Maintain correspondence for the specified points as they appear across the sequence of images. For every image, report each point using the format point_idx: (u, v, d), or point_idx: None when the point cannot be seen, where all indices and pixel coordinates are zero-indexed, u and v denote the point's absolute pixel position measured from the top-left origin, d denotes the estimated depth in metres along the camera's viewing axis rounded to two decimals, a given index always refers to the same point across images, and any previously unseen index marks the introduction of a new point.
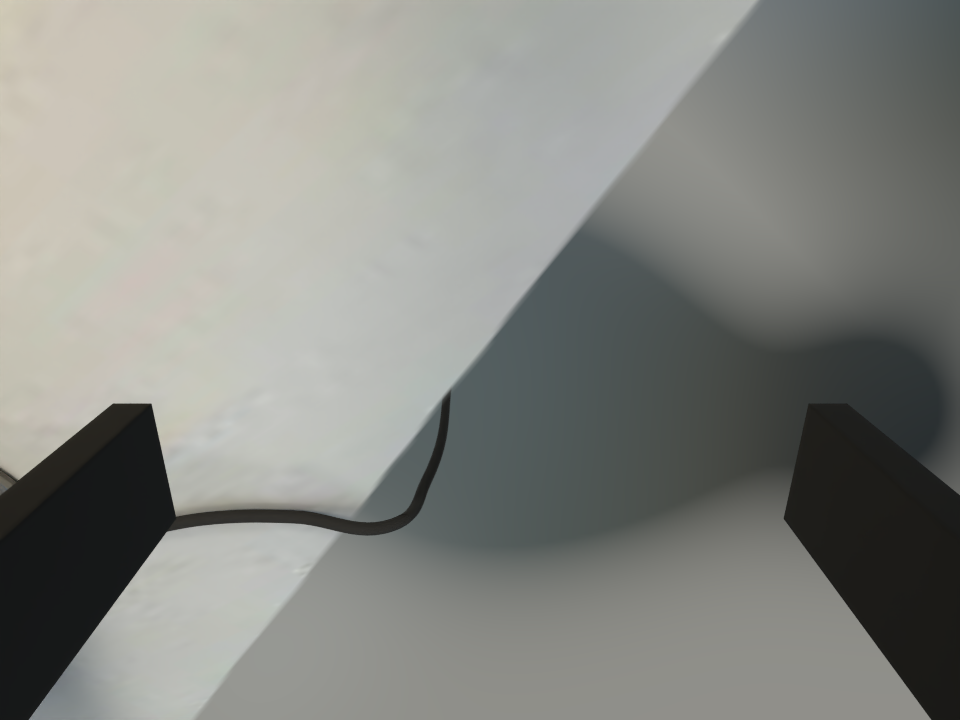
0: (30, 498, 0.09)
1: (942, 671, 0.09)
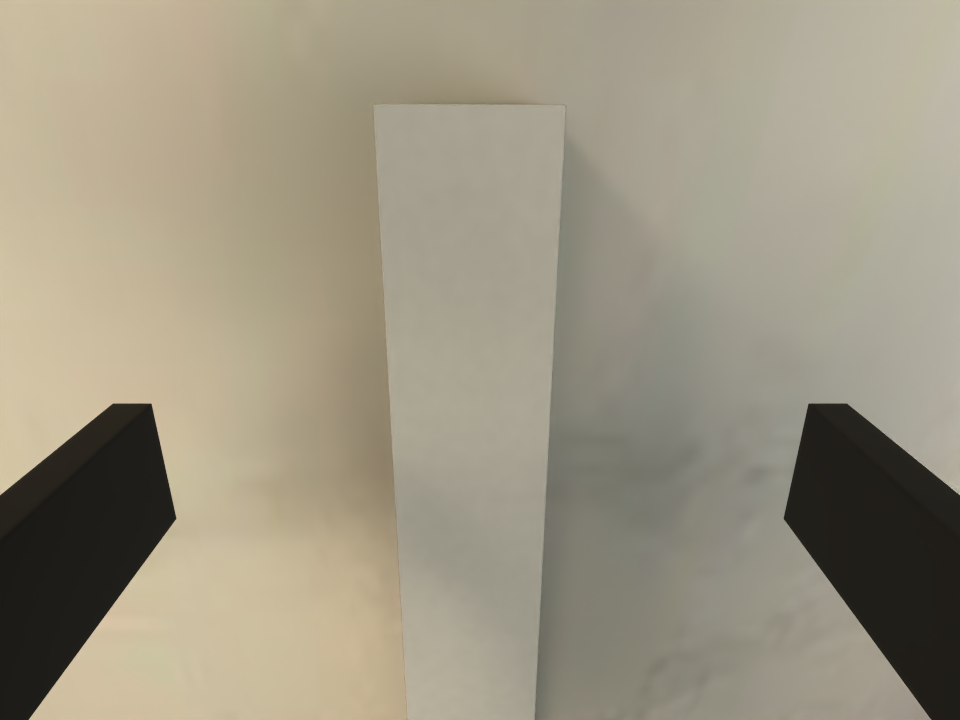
0: (30, 498, 0.09)
1: (943, 672, 0.09)
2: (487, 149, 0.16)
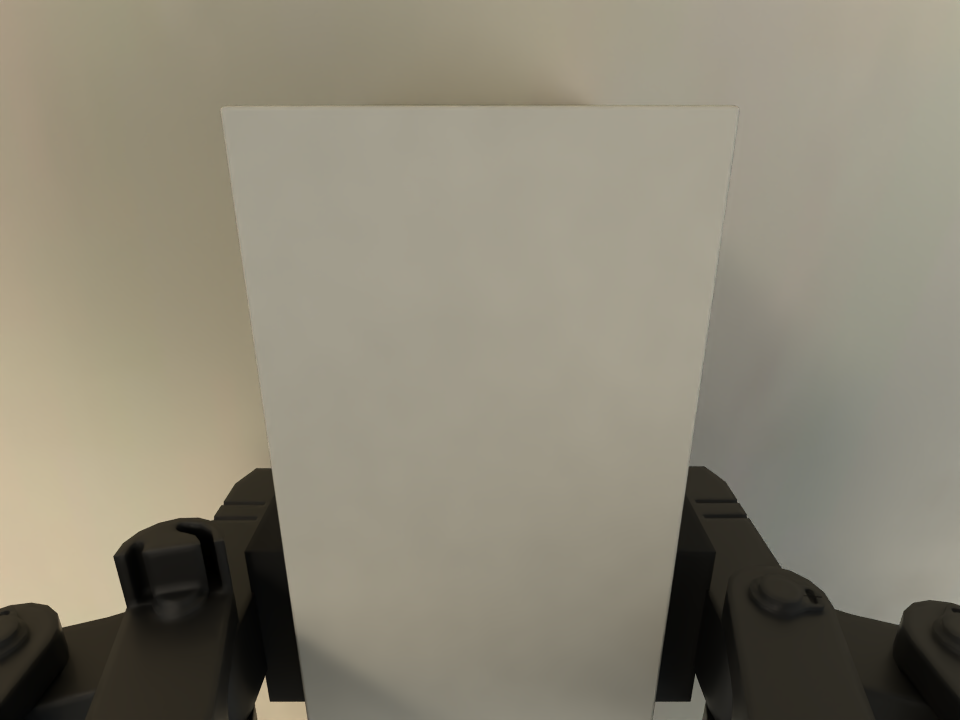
0: None
1: None
2: (526, 223, 0.06)
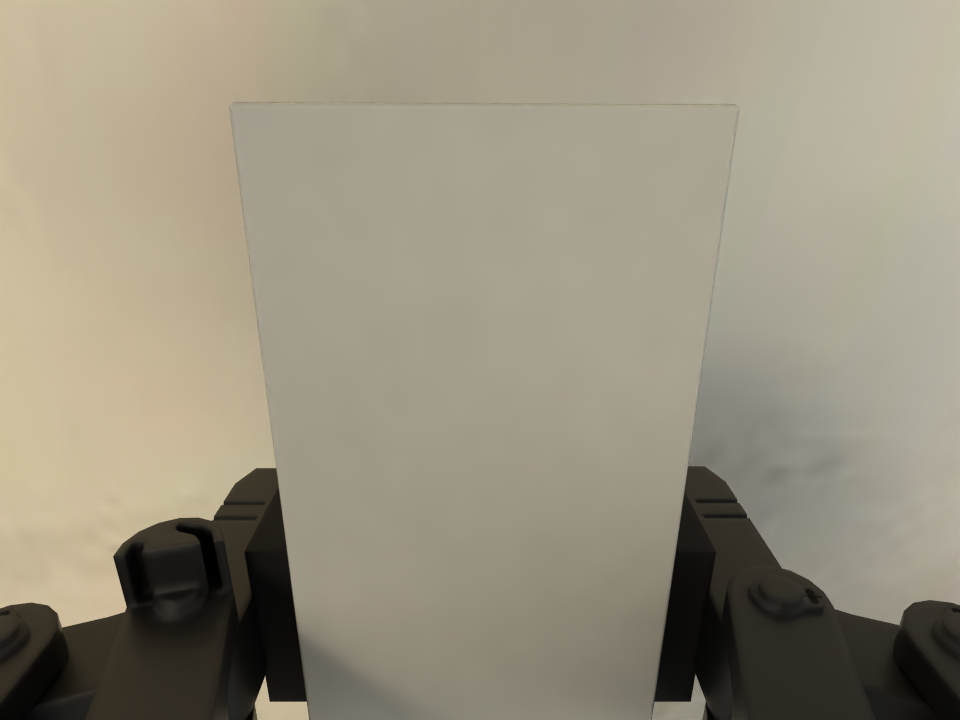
0: None
1: None
2: (529, 220, 0.06)
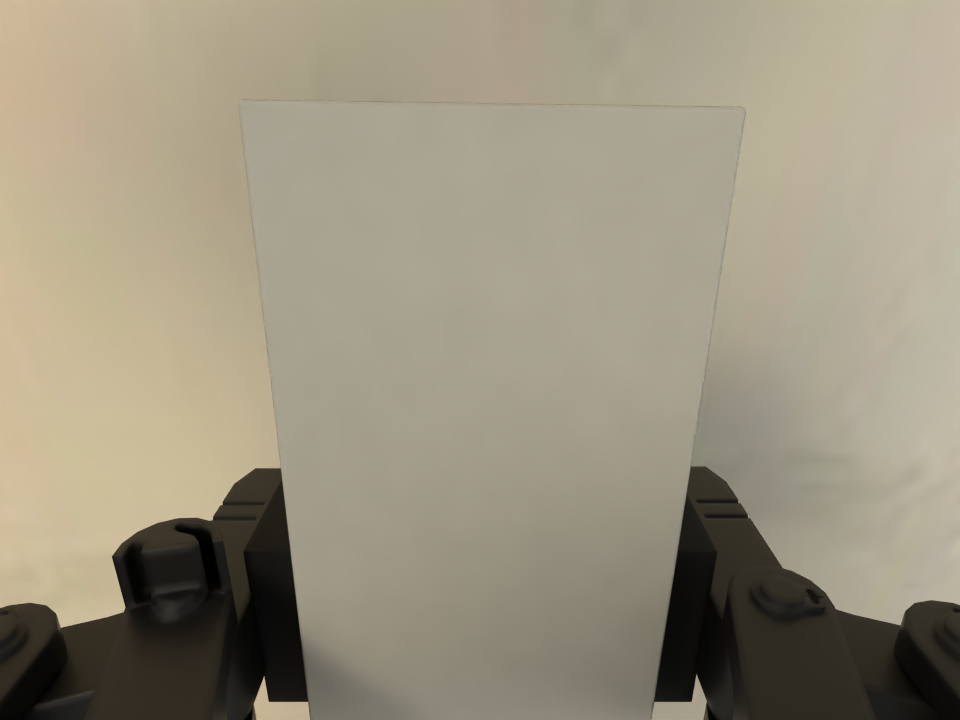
0: None
1: None
2: (536, 220, 0.06)
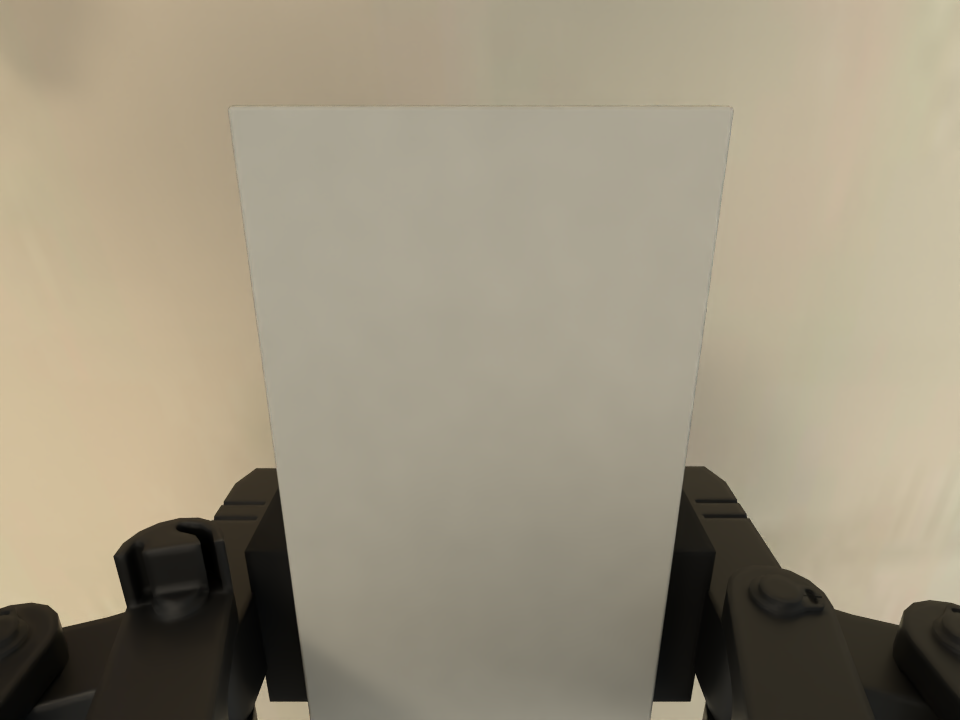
0: None
1: None
2: (526, 220, 0.06)
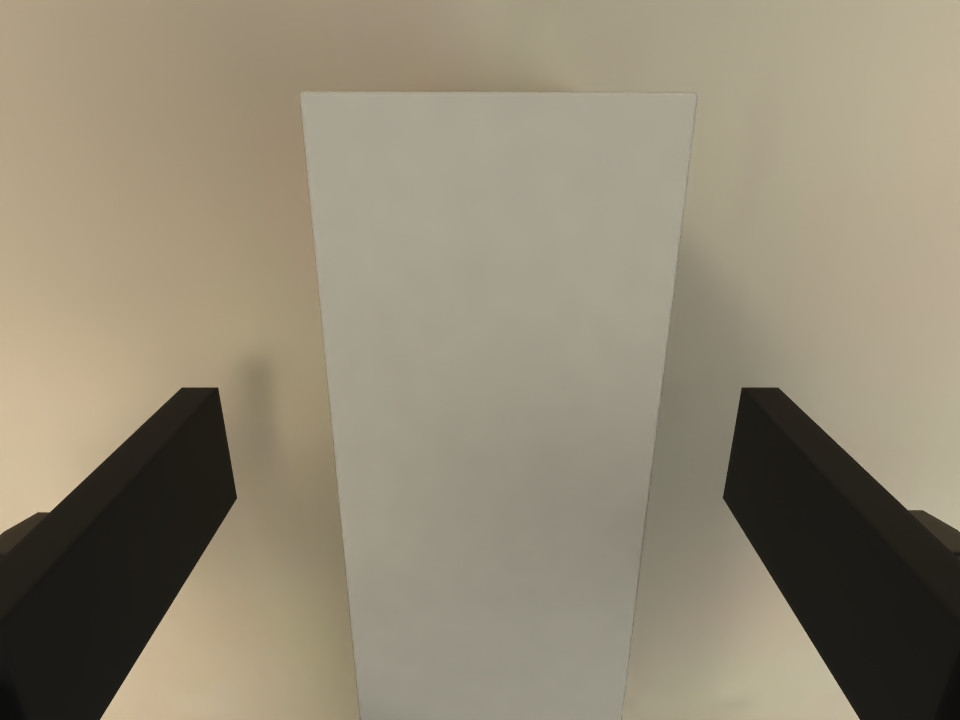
0: (124, 471, 0.10)
1: (841, 630, 0.09)
2: (534, 184, 0.08)
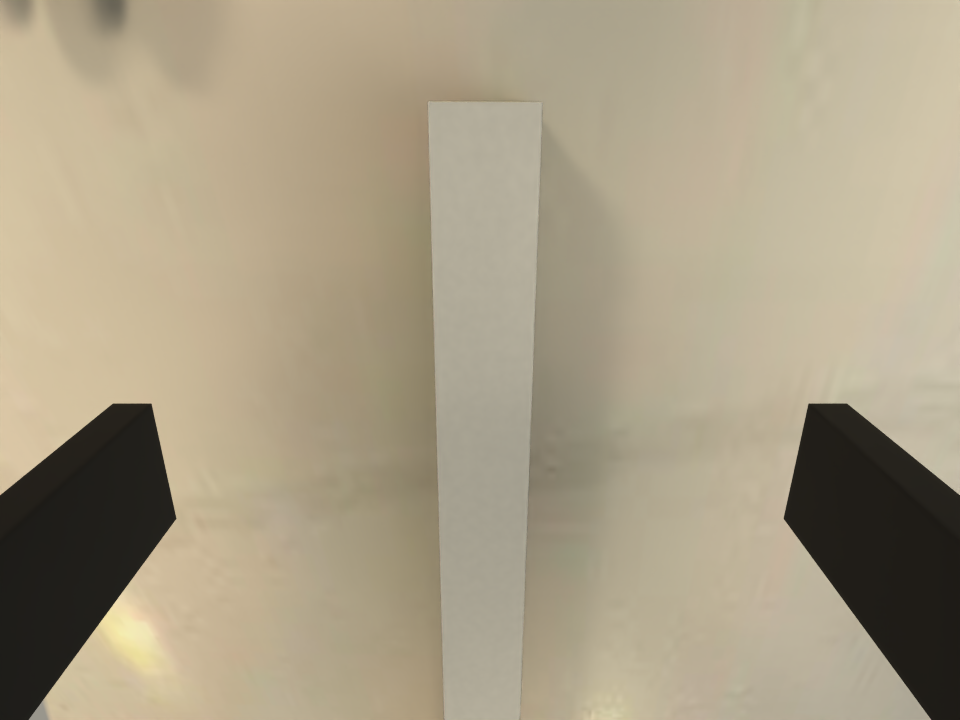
0: (30, 498, 0.09)
1: (942, 671, 0.09)
2: (496, 128, 0.26)
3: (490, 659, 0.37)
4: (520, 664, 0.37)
